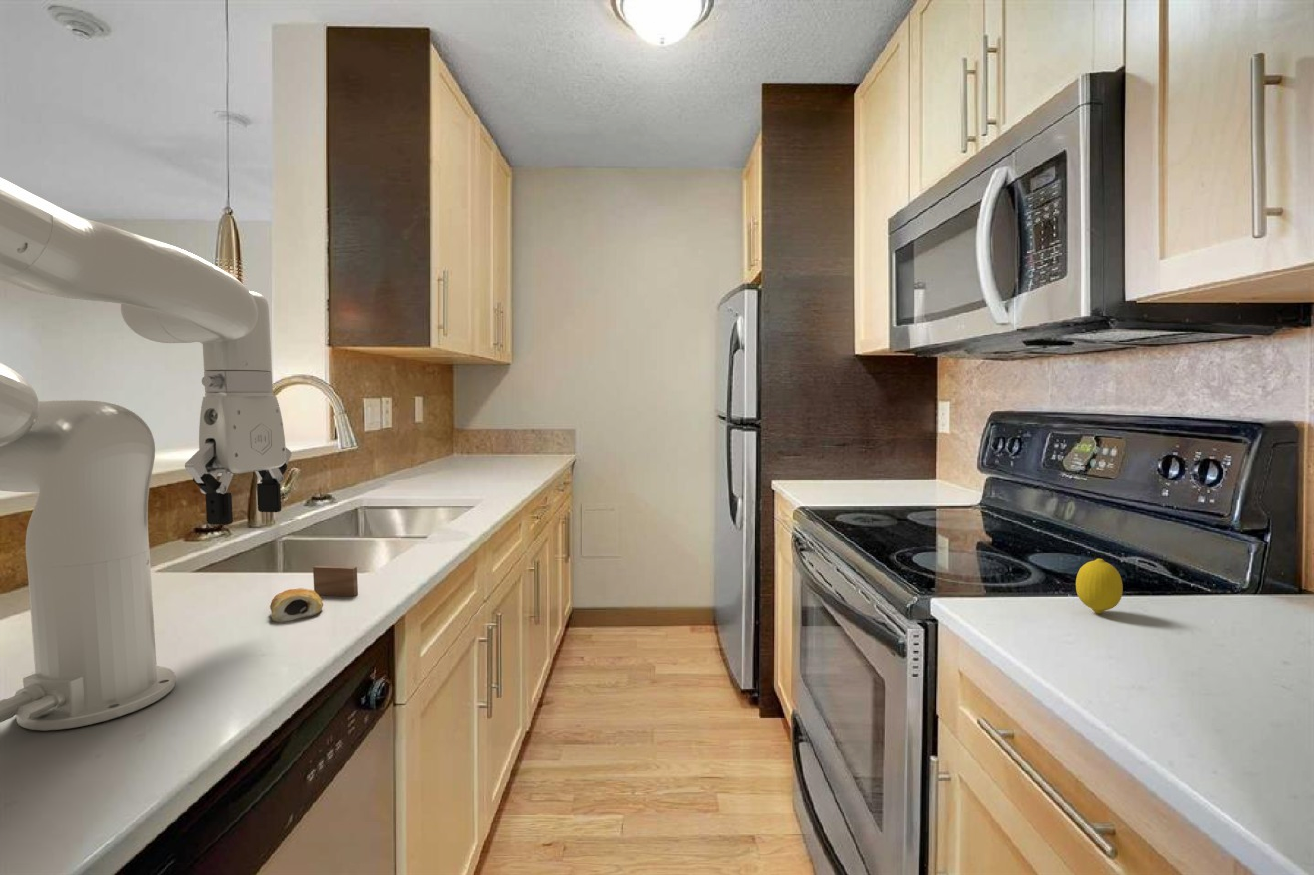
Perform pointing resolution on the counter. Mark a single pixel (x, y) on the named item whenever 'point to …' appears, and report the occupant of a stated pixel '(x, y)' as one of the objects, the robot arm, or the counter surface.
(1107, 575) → the lemon
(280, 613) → the pastry
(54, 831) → the counter surface
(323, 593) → the walnut block
